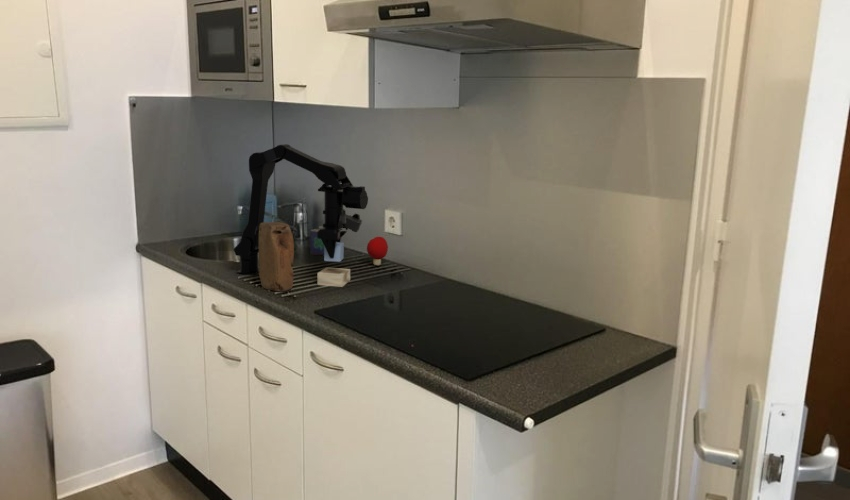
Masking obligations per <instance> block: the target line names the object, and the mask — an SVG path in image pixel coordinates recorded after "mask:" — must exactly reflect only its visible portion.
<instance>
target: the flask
mask: <svg viewBox="0 0 850 500" xmlns="http://www.w3.org/2000/svg"><path fill="white" fill-rule="evenodd" d="M321 228H323V225H322V226H318V228H314V229H310V230H309V232H310V233H309V237H310V238H309V239H310V241H309V243H310V244H309V254H310V255H315V256H323V257H324V244H323V242H322V240H321V239H318V238H317V232H318V231H319V230H320V229H321Z"/></svg>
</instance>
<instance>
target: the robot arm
mask: <svg viewBox="0 0 850 500" xmlns="http://www.w3.org/2000/svg"><path fill="white" fill-rule="evenodd" d="M283 160H285V161H286V162H290V163H291V164H294V165H296V166H298V167H299V168H301V169H303V170H306V171H308V172H310V173H312V174H313V175H314V176H315V177H316V178H317V179H318V180H319V181H320V182H322V183H323V184H322V185H321V186H320V187H319V188H318V189H317V191H318V192H321V193H322V192H323V193H324V195H323V196H324V210H322V214H323V215H324V222H323V224H322V226H323V228H321V229H320V228H319V229H320V230H319V231H318V232H317V238H318V239H321V240H322V242H323V244H324V246H325V248H326V250H327V252H328V254H329V257H330V258H334V254H335V248H336V242H342V241H341V240H342V238H343V236H345V234H346V233H347V232H348V230H351V231H352V232H354V233H357V232H358V231H359V230H360V227H361V225H362V222H363V219H361V217H360V214H359V213H354V214H353V215H348V214H346V209H344V207H345V208H347V209H357V210H365V209H366V208H367V206H368V203H369V196H368V193H367V191H366V189H365V188H366V187H365V186H354V185H353V182H351V180H350V178H349V177H348V176H347V172H346V169H345V167H344V166H342V165H340V164H337V163H333V162H327V161H326V162H325V161H322V160H320V159H317V158H315V157H314V156H311V155H309V154H307V153H305V152H303V151H300V150H299V149H296V148H294V147H293V146H291V145H290V144H278V145H277V146H275V147H272V148H270V149H268V150H265V151H257V152H253V153H252V154H250V156H249V157H248V171H249V174H250V177H251V179H252V183H251V190H250V191H251V193H250V200H249V201H250V202H249V210H248V221H247V223H246V225H245V227H244V229H243V231H242V234H241V238H240V241H239V243H238V244H237V245H236V246H235V247H234V248H233V252H234V254H235V256H237V257H239V265H240V268H239V269H238V270H237V271H236V274H241V275H242V274H244V275H257V274H259V256H258V252H259V249H258V246H259V226H260V224H261V223H264V222H265V221H264V220H265V214H266V213H265V211H266V205H267V204H266V203H267V195H268V193H267V192H268V184H269V180H270V178H271V177H272V176H273V175H272V174H273V173H274V171H275V166H276V164H278V163H280V162H282V161H283ZM343 229H345V230H343Z"/></svg>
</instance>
